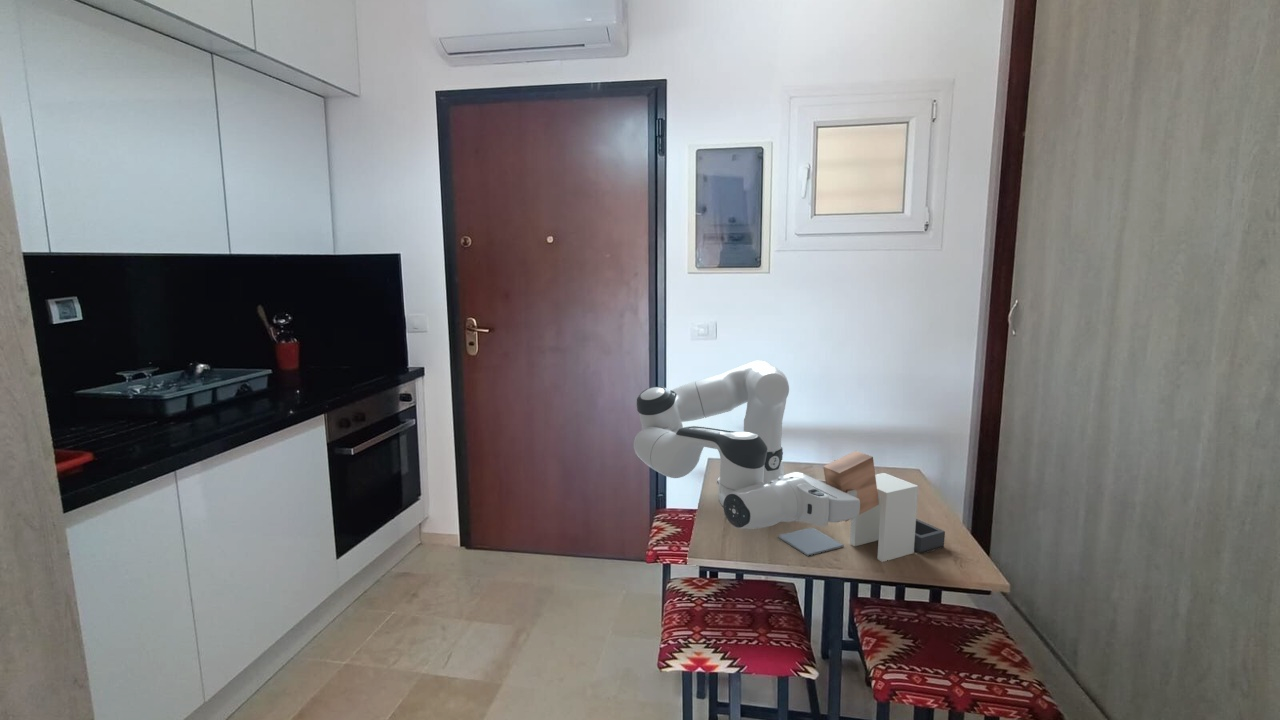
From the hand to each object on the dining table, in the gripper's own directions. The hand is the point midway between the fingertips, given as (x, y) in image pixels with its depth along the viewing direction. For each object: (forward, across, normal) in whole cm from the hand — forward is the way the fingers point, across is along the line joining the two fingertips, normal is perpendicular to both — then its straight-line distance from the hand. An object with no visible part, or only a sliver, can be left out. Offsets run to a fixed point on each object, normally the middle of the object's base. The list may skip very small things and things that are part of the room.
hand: (843, 488), depth 134 cm
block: (+4, 0, -6) cm, 7 cm away
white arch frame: (+13, 0, -17) cm, 22 cm away
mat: (0, -10, -17) cm, 20 cm away
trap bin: (+23, 0, -17) cm, 29 cm away
